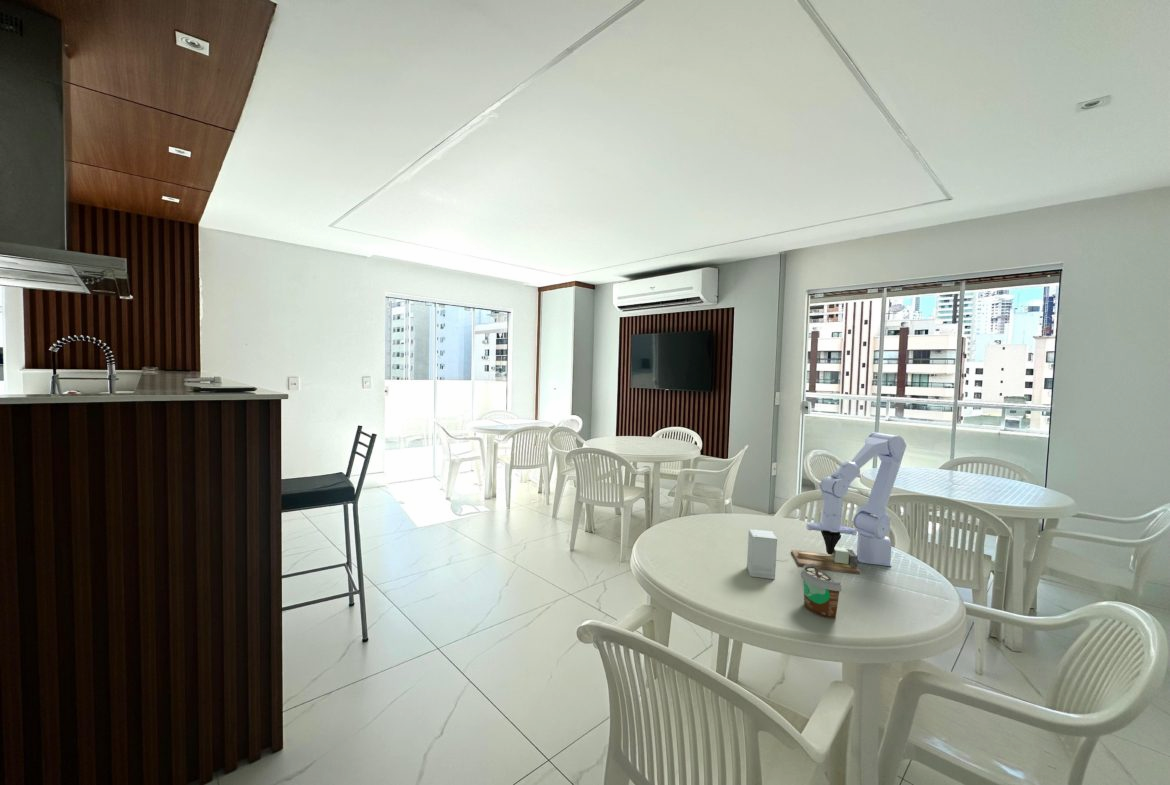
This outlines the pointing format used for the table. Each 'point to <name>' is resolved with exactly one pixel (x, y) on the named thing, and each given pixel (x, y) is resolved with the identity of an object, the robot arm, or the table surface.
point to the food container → (820, 592)
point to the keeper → (841, 555)
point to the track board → (826, 561)
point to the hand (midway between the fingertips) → (829, 553)
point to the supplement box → (761, 554)
